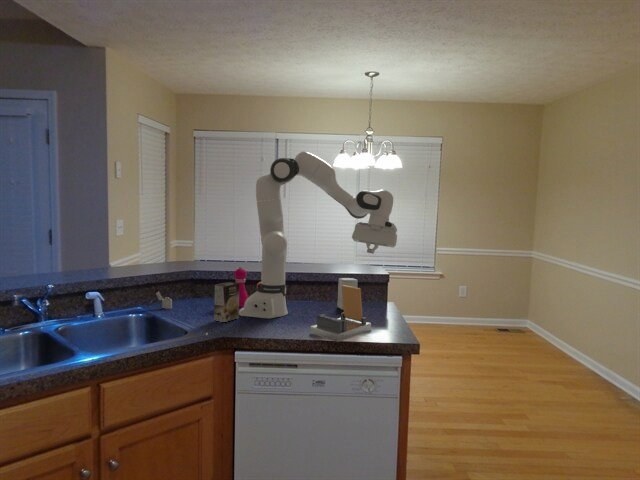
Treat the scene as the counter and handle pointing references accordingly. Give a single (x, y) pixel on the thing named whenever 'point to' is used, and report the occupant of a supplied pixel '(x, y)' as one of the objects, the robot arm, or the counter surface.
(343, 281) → the skincare box
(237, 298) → the coffee box
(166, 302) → the lighter
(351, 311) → the tan flat panel
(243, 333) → the counter surface
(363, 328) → the grey and white fixture
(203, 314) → the counter surface
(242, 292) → the pepper mill
